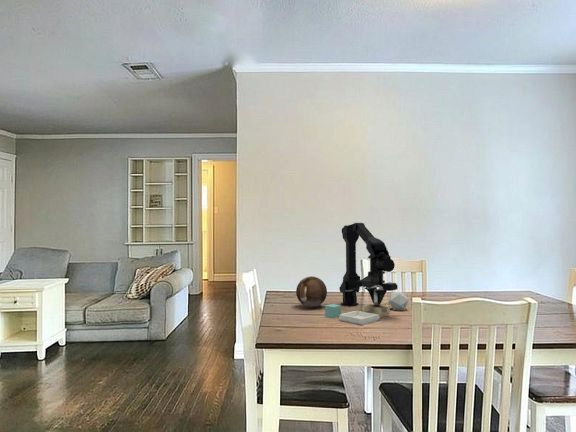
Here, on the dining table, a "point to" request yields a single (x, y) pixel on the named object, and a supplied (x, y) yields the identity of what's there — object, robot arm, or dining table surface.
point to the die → (398, 301)
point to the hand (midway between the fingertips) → (376, 303)
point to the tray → (359, 317)
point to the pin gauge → (376, 298)
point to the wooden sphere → (311, 291)
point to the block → (332, 310)
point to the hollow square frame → (377, 310)
